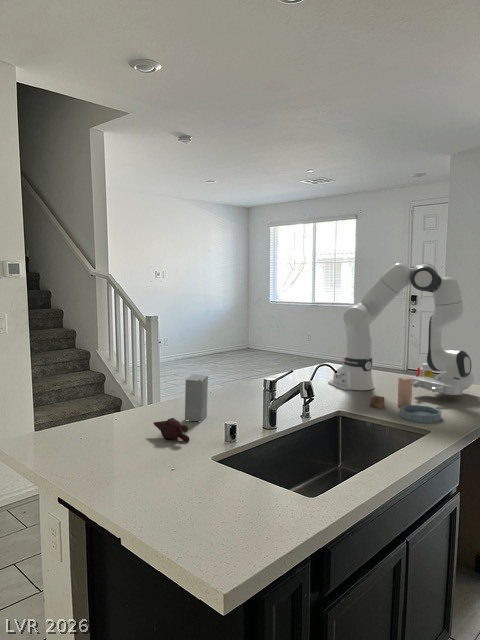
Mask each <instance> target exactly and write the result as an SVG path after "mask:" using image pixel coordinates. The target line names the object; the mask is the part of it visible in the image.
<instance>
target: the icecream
mask: <svg viewBox="0 0 480 640" xmlns="http://www.w3.org/2000/svg"><path fill="white" fill-rule="evenodd" d="M152 424H153V426H154V427H155V428H157V429H158V430H159V431H160V434H161V436H162V437H163V438H164V439H165V438H168V439H169V440H177V439H178V438H179V439H180V440H182V441H183V442H185V441H186V442H187V441H188V442H189V441H190V437H189V436H188V435H187V434H185V433H187V432H188V431H189V426H188V425H186V424H181V422H180V421H179V420H177V419H176V418H174V417H171V418H168V419H167V420H161V421H154V422H152ZM168 439H167V440H168ZM188 442H187V443H188Z"/></svg>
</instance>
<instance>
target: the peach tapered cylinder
mask: <svg viewBox="0 0 480 640" xmlns="http://www.w3.org/2000/svg"><path fill="white" fill-rule="evenodd" d="M397 382H398V383H397V407H399V406H400V407H399V408H401V407H402V406H407V405H412V401H413V400H412V398H413V397H412V395H413V393H412V392H413V386H412V378H409V377H398V380H397Z"/></svg>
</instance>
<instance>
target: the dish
mask: <svg viewBox="0 0 480 640" xmlns="http://www.w3.org/2000/svg"><path fill="white" fill-rule="evenodd" d="M399 416H400V417H401V418H402V419H403V418H404V419H403V420H406V419H407V420H406V421H409V422H414V421H415V422H416V423H421V422H422V424H427V423H428V424H429V423H437V422H440V421H441V420H442V417H443V416H442V410H440V409H439V408H437V407H433V406H428V405H421V404H411V405H407V406H402V407H399ZM415 422H414V423H415Z"/></svg>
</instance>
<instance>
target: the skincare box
mask: <svg viewBox="0 0 480 640" xmlns="http://www.w3.org/2000/svg"><path fill="white" fill-rule="evenodd" d="M208 378H209V375H204V374H195V373H193V374H191V375H190V376H188V377H187V378H186V379H185V387H184V388H185V395H184V397H185V399H184V400H185V401H184V402H185V403H184V404H185V405H184V421H185V420H189V421H202V420H203V421H204V419H205V418H206V417H207V416H208V387H209V386H208V385H209V382H208V381H209V379H208ZM189 421H188V422H189ZM203 421H202V422H203Z"/></svg>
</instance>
